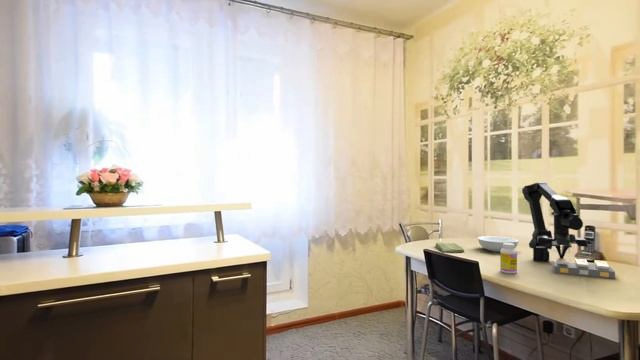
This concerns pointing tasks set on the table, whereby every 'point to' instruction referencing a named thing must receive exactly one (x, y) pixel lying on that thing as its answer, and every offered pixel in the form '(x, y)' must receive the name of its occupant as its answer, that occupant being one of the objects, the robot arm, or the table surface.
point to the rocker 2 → (581, 262)
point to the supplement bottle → (508, 258)
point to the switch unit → (583, 270)
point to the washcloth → (449, 247)
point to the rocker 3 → (601, 264)
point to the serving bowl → (495, 242)
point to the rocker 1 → (562, 261)
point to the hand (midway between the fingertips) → (561, 259)
